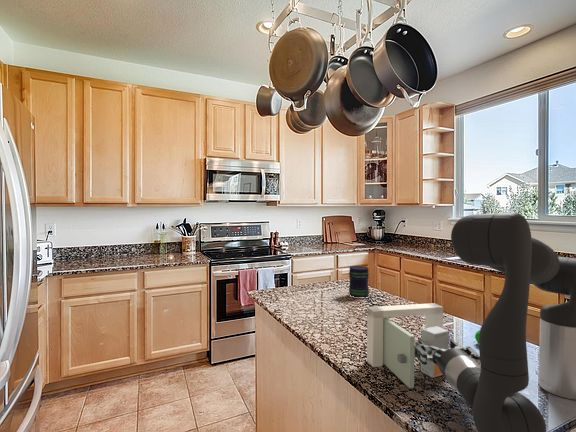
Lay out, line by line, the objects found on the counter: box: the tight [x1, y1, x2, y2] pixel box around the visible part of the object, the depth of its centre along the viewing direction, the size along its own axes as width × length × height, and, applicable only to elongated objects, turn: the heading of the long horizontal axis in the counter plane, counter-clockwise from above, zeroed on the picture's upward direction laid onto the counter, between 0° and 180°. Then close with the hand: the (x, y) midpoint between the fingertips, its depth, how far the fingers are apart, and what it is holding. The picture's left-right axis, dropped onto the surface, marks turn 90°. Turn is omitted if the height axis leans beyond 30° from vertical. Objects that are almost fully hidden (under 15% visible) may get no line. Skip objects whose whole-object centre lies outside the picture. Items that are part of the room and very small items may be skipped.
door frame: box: [366, 302, 444, 368], centre depth 97 cm, size 22×4×16 cm, turn 102°
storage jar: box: [348, 265, 370, 298], centre depth 168 cm, size 10×10×15 cm
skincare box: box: [420, 326, 450, 379], centre depth 90 cm, size 6×4×12 cm
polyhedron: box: [474, 330, 480, 344], centre depth 109 cm, size 5×5×5 cm
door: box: [383, 317, 416, 389], centre depth 89 cm, size 16×3×13 cm, turn 12°
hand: (435, 343), depth 90 cm, fingers open, 8 cm apart
